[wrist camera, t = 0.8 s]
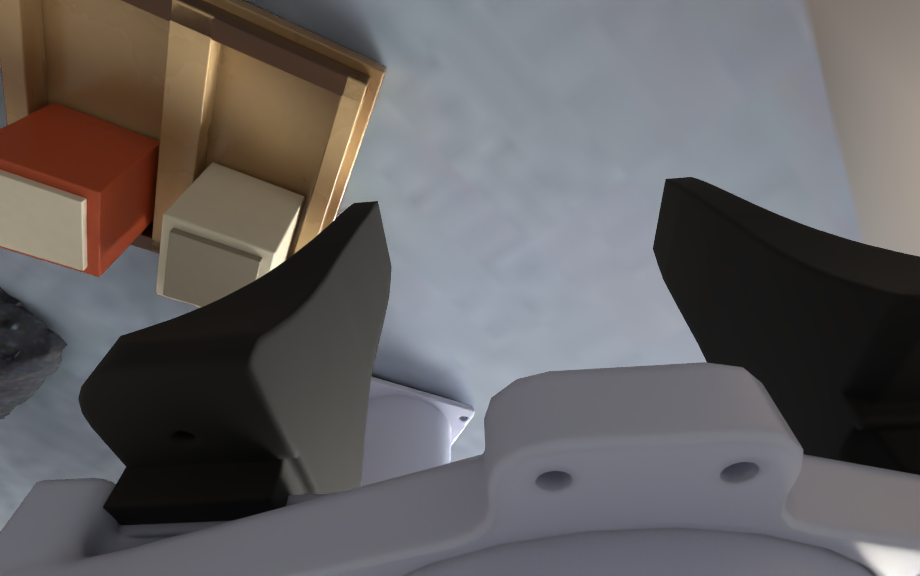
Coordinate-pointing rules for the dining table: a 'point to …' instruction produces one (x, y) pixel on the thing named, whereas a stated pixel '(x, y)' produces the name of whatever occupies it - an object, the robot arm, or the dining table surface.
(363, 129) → the divided wooden tray
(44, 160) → the red block with panel
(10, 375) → the dark slate chunk
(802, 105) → the dining table surface
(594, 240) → the dining table surface
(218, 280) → the cream panelled block
